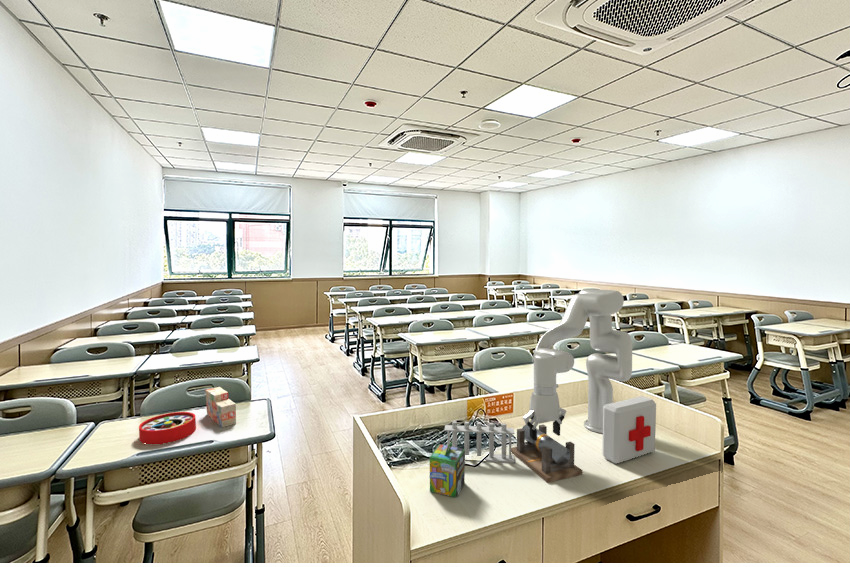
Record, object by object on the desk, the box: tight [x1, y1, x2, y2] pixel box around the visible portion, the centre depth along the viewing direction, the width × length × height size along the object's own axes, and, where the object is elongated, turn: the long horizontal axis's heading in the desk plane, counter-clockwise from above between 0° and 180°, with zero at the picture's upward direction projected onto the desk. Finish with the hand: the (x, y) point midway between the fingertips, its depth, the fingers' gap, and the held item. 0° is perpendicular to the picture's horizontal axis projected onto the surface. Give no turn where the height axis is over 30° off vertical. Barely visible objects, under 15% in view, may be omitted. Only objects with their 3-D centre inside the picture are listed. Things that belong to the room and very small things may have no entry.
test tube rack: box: [443, 420, 516, 464], centre depth 143 cm, size 25×4×13 cm, turn 82°
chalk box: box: [429, 440, 466, 498], centre depth 125 cm, size 9×9×15 cm
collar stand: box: [511, 424, 583, 484], centre depth 140 cm, size 14×22×10 cm, turn 20°
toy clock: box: [138, 411, 197, 445], centre depth 167 cm, size 20×6×20 cm
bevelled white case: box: [601, 395, 657, 465], centre depth 143 cm, size 21×8×20 cm, turn 115°
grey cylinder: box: [522, 423, 570, 465], centre depth 140 cm, size 6×20×6 cm, turn 20°
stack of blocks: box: [205, 386, 237, 428], centre depth 182 cm, size 21×6×12 cm, turn 45°
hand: (545, 436), depth 140 cm, fingers open, 9 cm apart
